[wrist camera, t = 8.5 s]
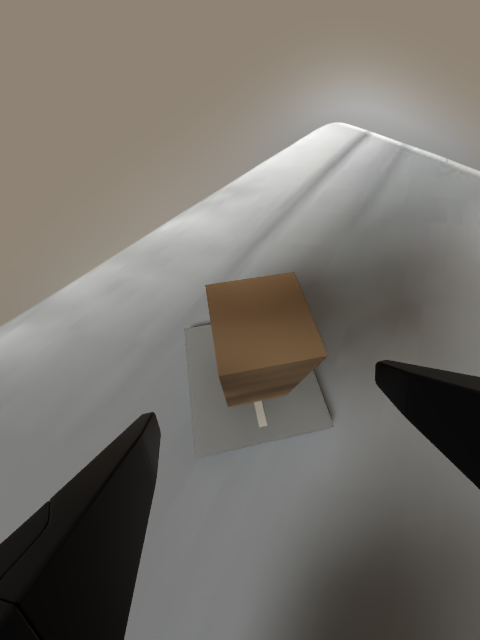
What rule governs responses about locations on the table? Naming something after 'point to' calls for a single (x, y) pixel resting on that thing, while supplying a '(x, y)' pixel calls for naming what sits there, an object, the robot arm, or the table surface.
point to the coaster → (244, 405)
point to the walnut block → (262, 337)
